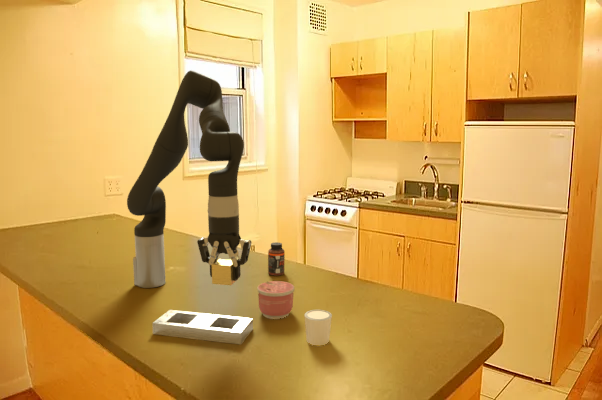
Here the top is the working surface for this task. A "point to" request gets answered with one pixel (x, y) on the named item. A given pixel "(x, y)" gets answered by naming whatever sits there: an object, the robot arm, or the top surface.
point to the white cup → (318, 326)
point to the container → (275, 299)
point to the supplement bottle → (276, 259)
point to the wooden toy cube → (222, 272)
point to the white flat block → (203, 326)
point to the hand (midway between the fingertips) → (225, 278)
